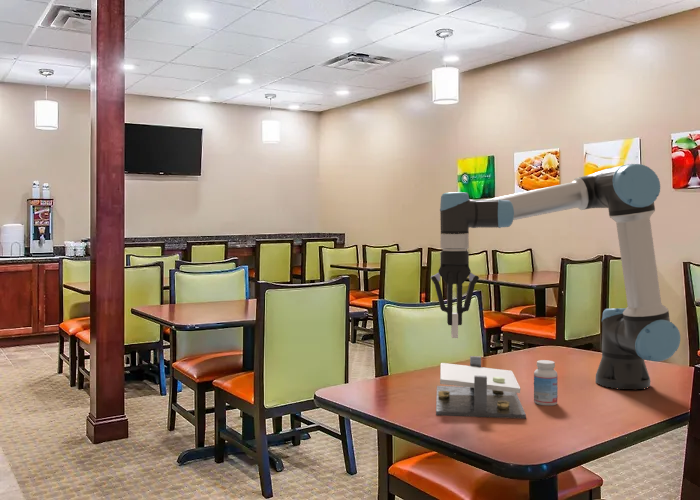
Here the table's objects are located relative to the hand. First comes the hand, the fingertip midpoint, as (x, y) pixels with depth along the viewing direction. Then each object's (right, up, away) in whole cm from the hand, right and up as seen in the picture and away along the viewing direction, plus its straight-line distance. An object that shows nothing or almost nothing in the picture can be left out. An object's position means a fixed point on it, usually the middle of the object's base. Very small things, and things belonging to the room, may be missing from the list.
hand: (454, 337), depth 173 cm
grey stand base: (+6, -18, 0) cm, 19 cm away
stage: (+6, -11, -1) cm, 12 cm away
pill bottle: (+24, -18, -1) cm, 30 cm away
